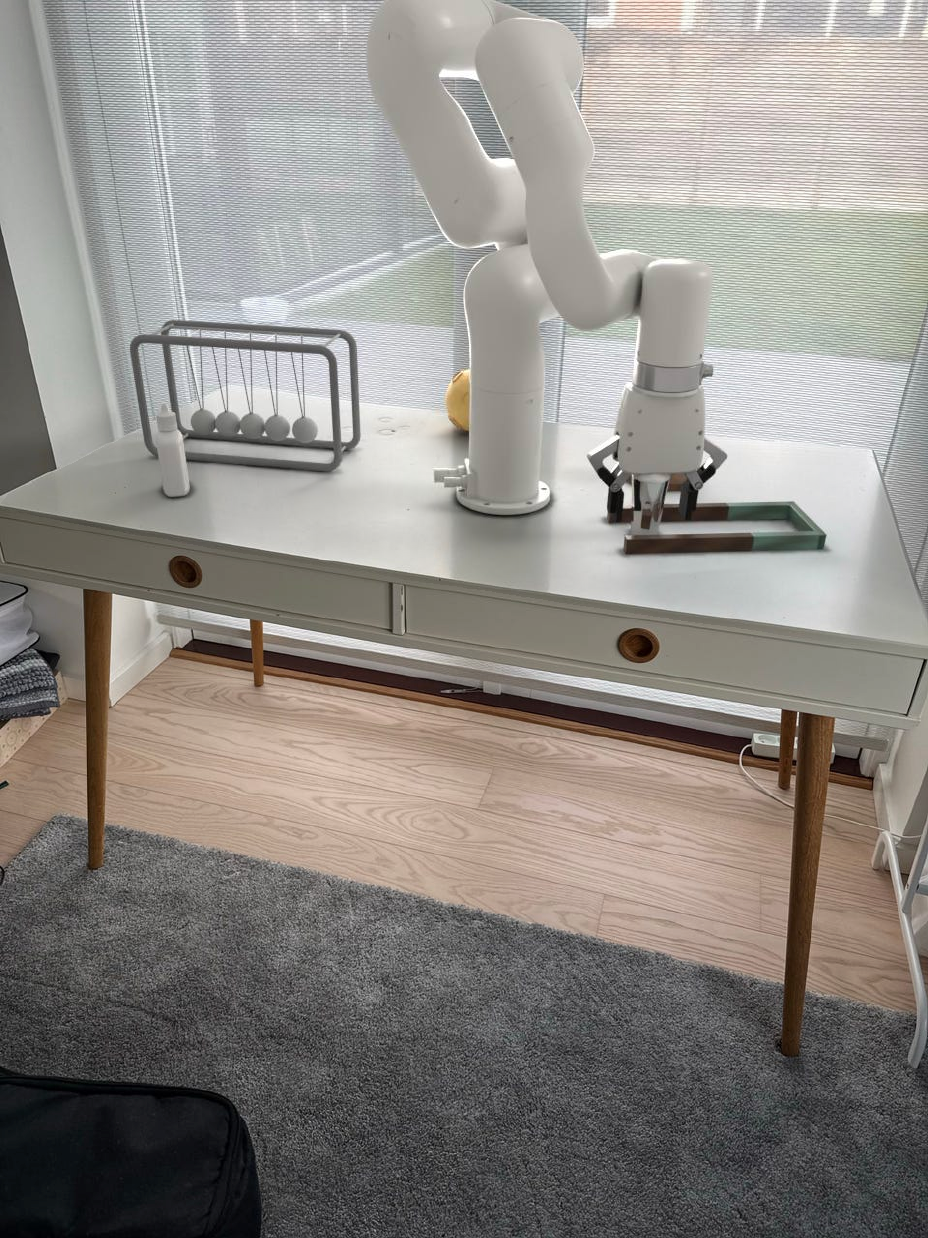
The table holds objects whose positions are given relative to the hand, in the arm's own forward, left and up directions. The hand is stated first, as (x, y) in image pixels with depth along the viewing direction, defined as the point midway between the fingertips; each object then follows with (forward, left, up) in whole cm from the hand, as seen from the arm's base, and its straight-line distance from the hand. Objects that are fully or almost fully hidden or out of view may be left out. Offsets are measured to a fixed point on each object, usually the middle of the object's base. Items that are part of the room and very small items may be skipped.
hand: (650, 516), depth 117 cm
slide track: (+8, 0, -3) cm, 9 cm away
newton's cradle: (-52, +32, -3) cm, 61 cm away
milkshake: (0, 0, -3) cm, 3 cm away
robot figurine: (+6, +19, -3) cm, 20 cm away
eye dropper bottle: (-61, +18, -3) cm, 63 cm away
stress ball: (-18, +41, -3) cm, 45 cm away
